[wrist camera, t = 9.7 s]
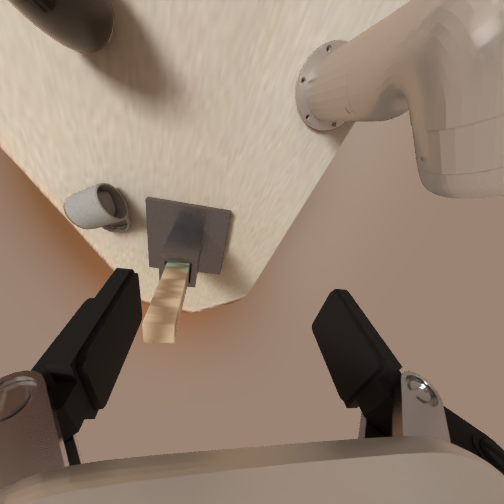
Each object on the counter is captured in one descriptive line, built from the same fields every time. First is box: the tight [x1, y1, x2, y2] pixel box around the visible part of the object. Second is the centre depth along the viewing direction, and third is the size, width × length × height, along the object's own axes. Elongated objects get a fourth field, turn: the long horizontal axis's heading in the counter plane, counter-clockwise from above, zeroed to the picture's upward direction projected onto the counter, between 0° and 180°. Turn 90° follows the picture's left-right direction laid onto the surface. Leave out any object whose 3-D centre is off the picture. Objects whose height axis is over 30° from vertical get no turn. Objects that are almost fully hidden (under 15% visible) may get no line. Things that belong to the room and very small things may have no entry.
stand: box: [146, 197, 231, 287], centre depth 44 cm, size 18×18×14 cm
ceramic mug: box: [63, 183, 130, 232], centre depth 41 cm, size 11×8×8 cm
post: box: [142, 261, 192, 343], centre depth 35 cm, size 4×4×19 cm
